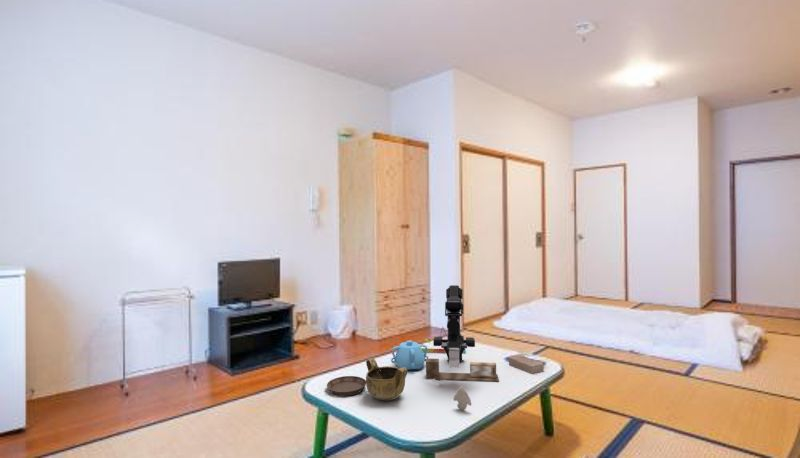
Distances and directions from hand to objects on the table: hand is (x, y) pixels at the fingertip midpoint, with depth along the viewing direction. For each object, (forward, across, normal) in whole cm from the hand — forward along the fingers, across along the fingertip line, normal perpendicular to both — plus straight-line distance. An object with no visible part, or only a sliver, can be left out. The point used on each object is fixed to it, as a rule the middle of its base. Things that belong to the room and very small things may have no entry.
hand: (454, 360), depth 196 cm
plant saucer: (+12, -48, -10) cm, 51 cm away
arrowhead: (+11, +3, -27) cm, 29 cm away
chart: (+12, -9, +46) cm, 49 cm away
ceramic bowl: (+11, -29, -18) cm, 36 cm away
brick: (+12, +36, +24) cm, 45 cm away
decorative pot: (+12, -23, +21) cm, 33 cm away
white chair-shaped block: (+2, 0, 0) cm, 2 cm away
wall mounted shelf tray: (+10, +14, +8) cm, 19 cm away
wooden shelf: (+11, +3, +8) cm, 14 cm away
